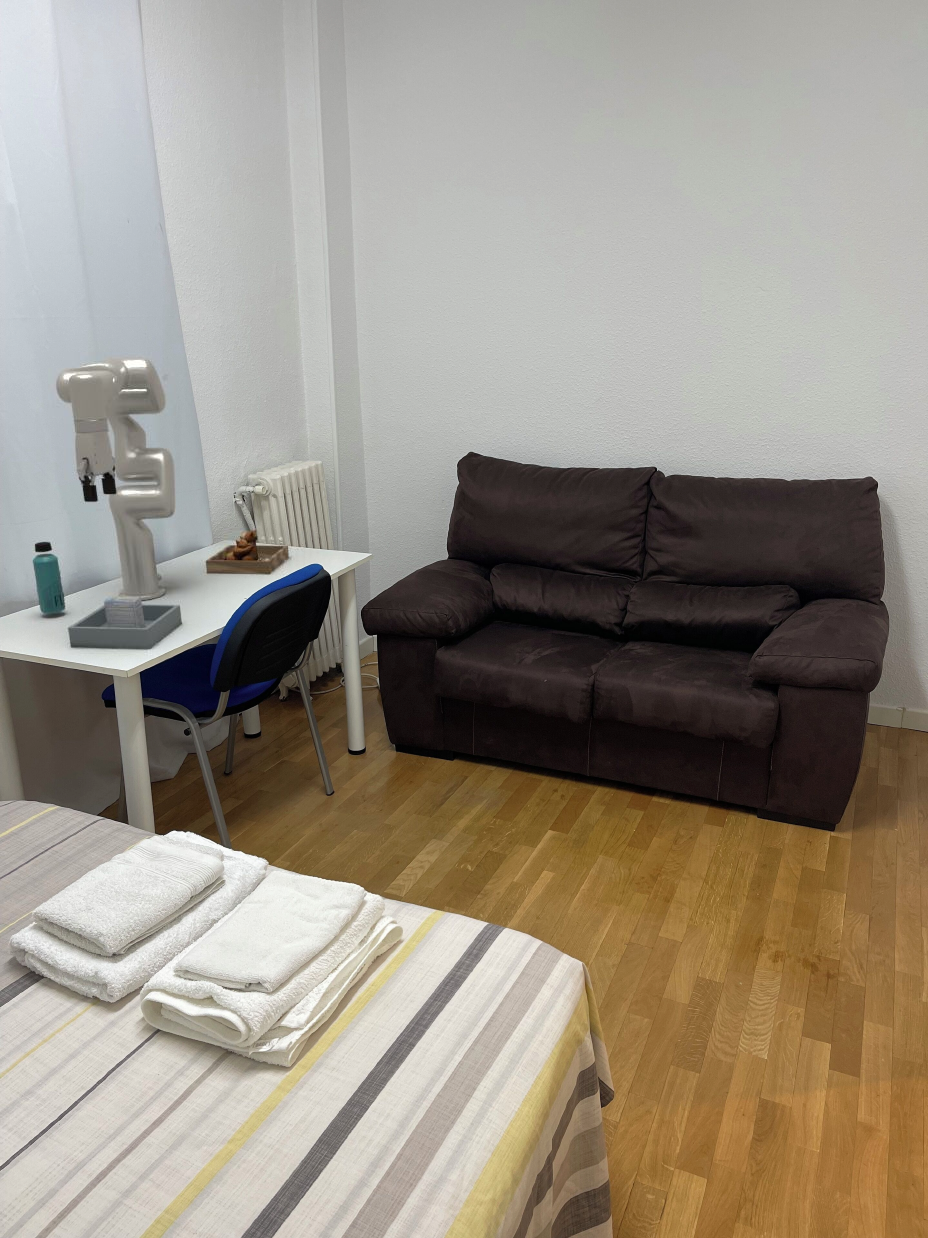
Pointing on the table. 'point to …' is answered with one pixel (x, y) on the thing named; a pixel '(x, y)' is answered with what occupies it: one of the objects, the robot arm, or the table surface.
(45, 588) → the beverage bottle
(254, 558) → the bear figurine
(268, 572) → the wooden tray
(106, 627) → the bin
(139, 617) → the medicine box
